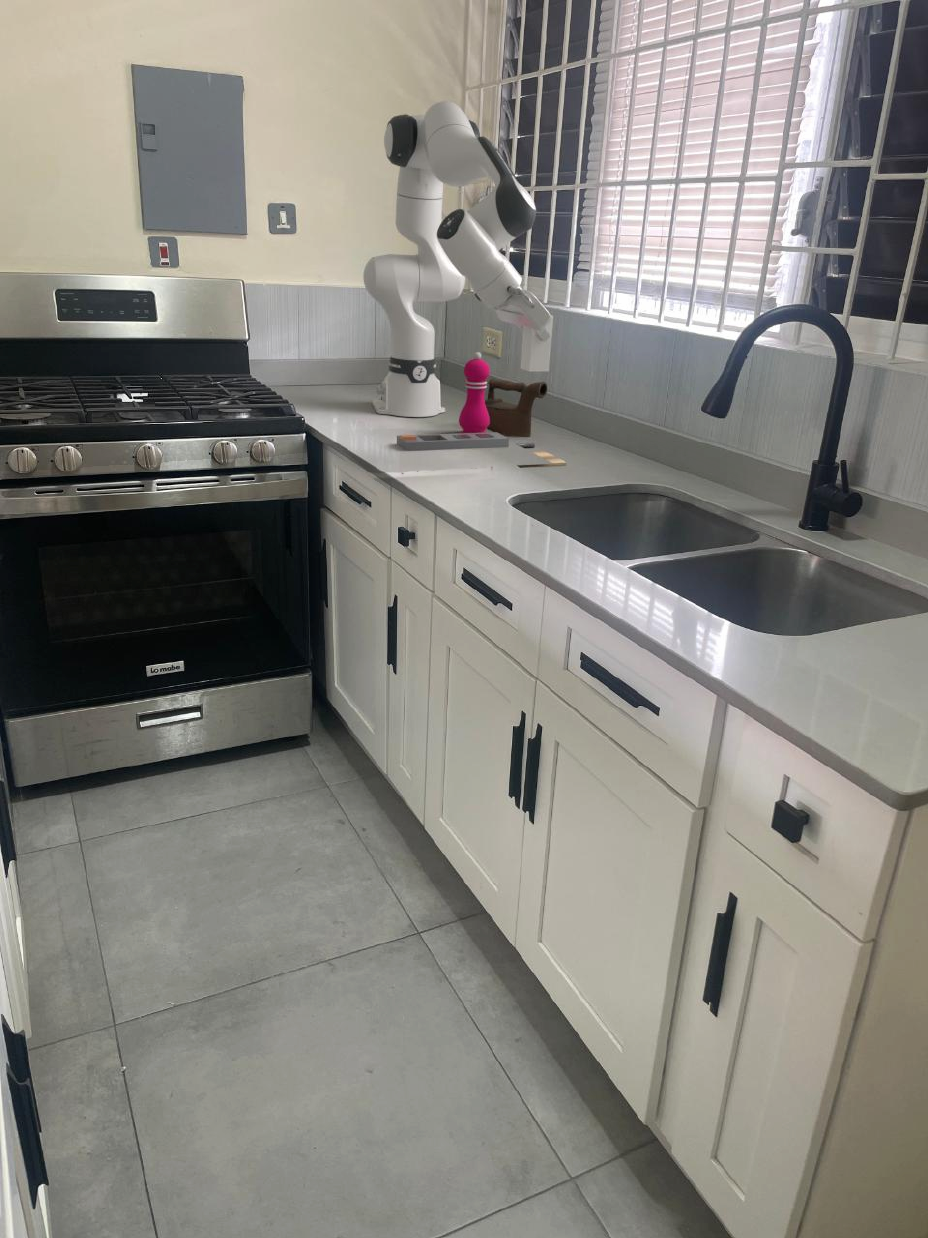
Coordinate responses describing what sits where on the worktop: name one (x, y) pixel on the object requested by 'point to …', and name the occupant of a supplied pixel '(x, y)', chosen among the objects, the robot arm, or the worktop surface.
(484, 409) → the pepper mill
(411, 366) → the robot arm
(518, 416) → the clothes iron
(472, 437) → the power strip
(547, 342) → the block
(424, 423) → the worktop surface
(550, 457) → the tan flat angled piece
